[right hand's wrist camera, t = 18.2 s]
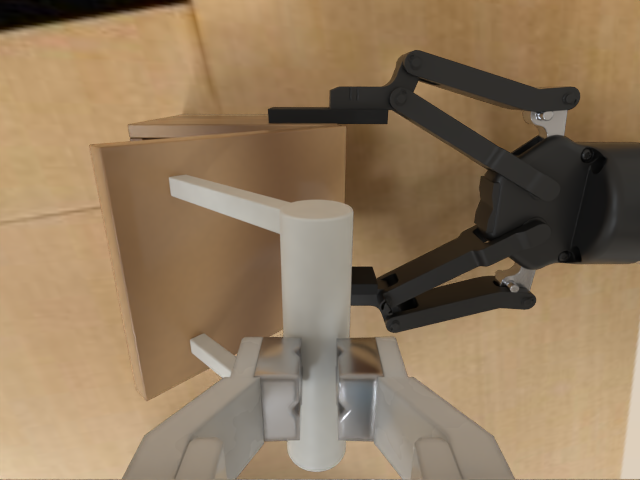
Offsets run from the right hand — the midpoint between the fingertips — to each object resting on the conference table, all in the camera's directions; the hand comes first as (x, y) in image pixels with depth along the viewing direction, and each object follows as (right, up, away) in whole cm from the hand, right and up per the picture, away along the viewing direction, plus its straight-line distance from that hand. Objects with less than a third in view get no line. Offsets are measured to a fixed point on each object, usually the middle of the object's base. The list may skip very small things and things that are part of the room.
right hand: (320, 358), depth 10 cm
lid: (-3, +3, +8) cm, 9 cm away
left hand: (-3, +5, +15) cm, 16 cm away
